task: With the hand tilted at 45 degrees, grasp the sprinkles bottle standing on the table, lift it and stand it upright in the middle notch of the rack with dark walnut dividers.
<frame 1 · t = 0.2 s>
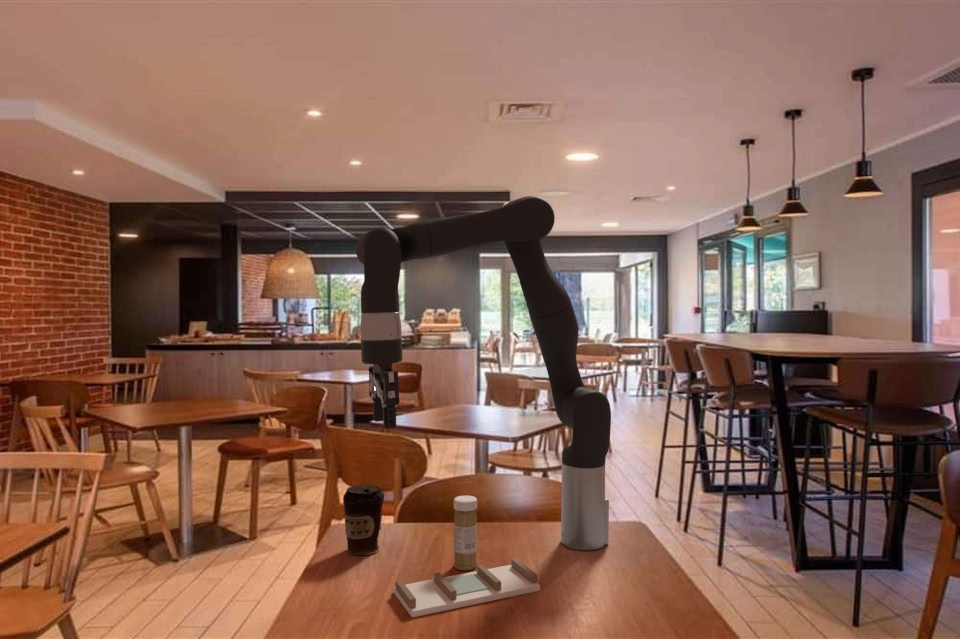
hand: (384, 424, 118), 29 cm above the table, tool pointing down, fingers open, 8 cm apart
coffee cup: (363, 551, 131), on the table
sprinkles bottle: (465, 567, 124), on the table
rack: (467, 591, 113), on the table
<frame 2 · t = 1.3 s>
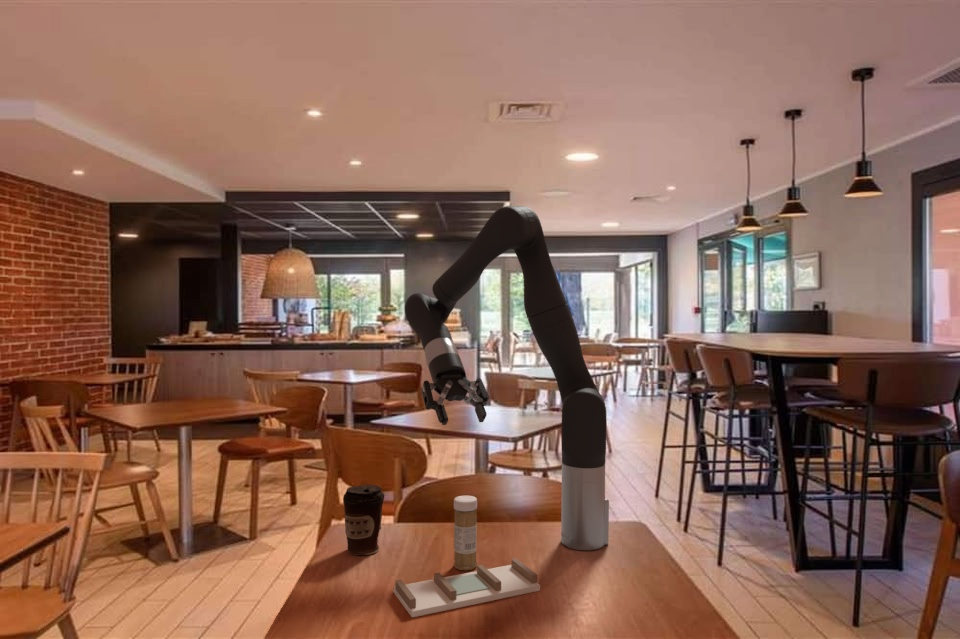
hand: (464, 421, 133), 26 cm above the table, tool tilted 45°, fingers open, 8 cm apart
nothing on the table moved.
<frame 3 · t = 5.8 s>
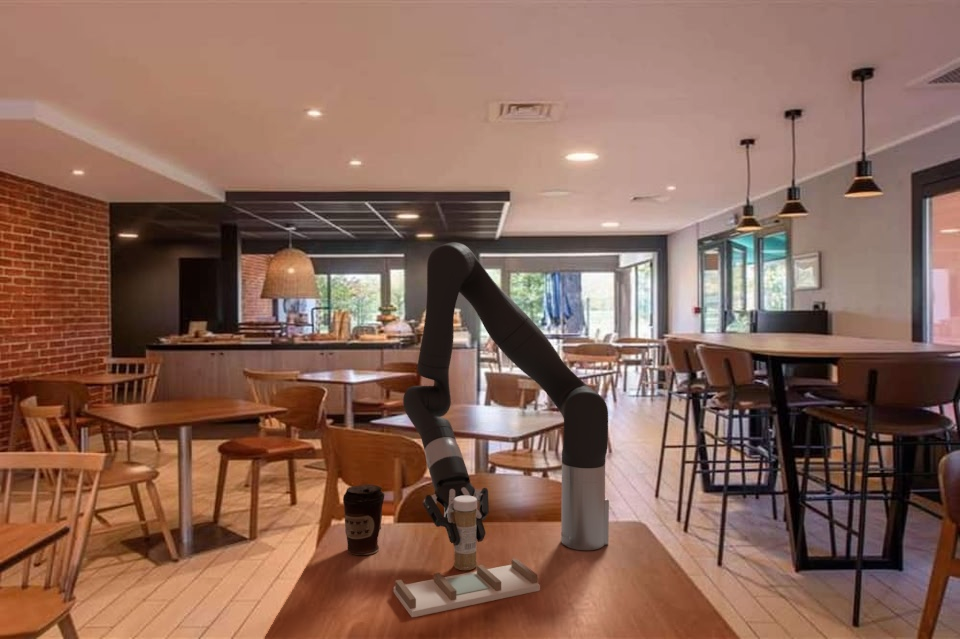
hand: (469, 541, 122), 6 cm above the table, tool tilted 45°, fingers closed on sprinkles bottle, 4 cm apart
sprinkles bottle: (465, 567, 124), on the table, touching gripper
everything else where it was.
when the fingers open (8 cm above the table, at t = 11.0 s): sprinkles bottle drops 1 cm, resting on rack.
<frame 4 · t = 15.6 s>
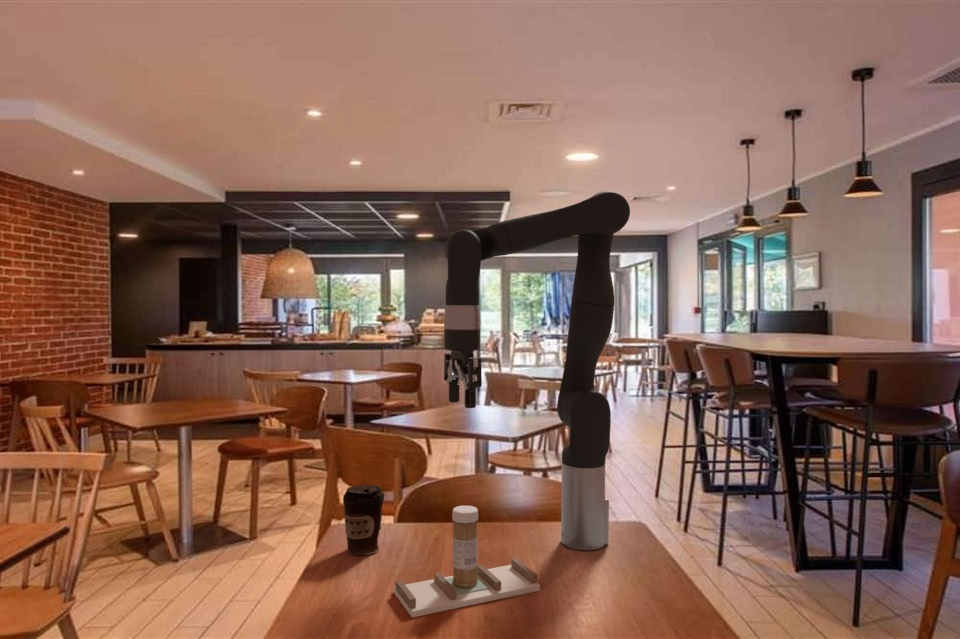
hand: (461, 404, 132), 30 cm above the table, tool pointing down, fingers open, 8 cm apart
sprinkles bottle: (464, 584, 113), point 1 cm above the table, touching rack
everything else where it was.
at the end: sprinkles bottle inside the target area on the rack (0.5 cm from its centre), point 1.0 cm above the rack's base; sprinkles bottle tilted 0°; the gripper is holding nothing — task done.
